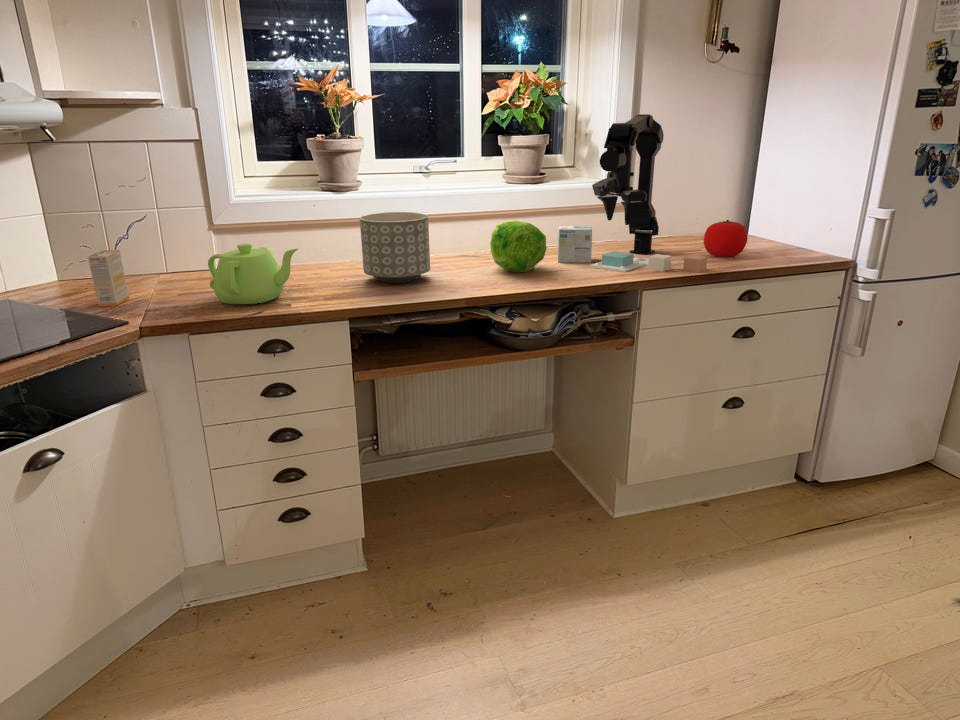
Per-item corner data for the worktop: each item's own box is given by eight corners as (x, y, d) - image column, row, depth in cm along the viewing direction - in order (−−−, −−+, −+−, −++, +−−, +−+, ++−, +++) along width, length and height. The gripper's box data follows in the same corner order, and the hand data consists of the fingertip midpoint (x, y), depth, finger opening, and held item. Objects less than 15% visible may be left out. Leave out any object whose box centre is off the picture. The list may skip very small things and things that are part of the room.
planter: (403, 269, 208) (399, 209, 202) (444, 279, 195) (442, 215, 189) (351, 280, 196) (346, 217, 190) (391, 291, 183) (387, 224, 177)
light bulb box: (590, 258, 220) (592, 225, 217) (591, 263, 214) (593, 228, 210) (557, 258, 221) (558, 225, 218) (557, 262, 215) (558, 228, 211)
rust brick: (690, 268, 206) (691, 254, 205) (706, 270, 203) (707, 256, 202) (683, 270, 203) (684, 257, 201) (699, 273, 200) (700, 259, 198)
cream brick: (655, 267, 208) (656, 254, 207) (670, 269, 205) (671, 256, 204) (647, 269, 205) (648, 256, 203) (663, 272, 202) (664, 258, 200)
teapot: (204, 298, 180) (196, 243, 175) (277, 286, 191) (271, 234, 186) (227, 313, 166) (219, 254, 161) (305, 299, 177) (299, 244, 172)
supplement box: (111, 298, 180) (101, 249, 175) (129, 298, 180) (120, 249, 176) (97, 307, 172) (86, 256, 168) (117, 306, 172) (106, 255, 168)
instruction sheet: (630, 257, 221) (630, 256, 221) (658, 261, 215) (659, 260, 215) (619, 261, 216) (619, 260, 216) (648, 265, 210) (648, 264, 210)
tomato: (717, 261, 214) (721, 224, 210) (694, 253, 226) (698, 218, 222) (753, 259, 217) (758, 222, 213) (729, 251, 229) (733, 216, 225)
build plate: (610, 260, 217) (610, 249, 216) (644, 265, 210) (645, 253, 209) (590, 266, 209) (590, 255, 207) (625, 272, 201) (625, 260, 200)
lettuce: (526, 269, 217) (530, 221, 214) (552, 276, 199) (556, 223, 195) (477, 267, 212) (480, 217, 209) (498, 274, 193) (502, 220, 190)
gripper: (580, 167, 203) (578, 220, 208) (615, 172, 187) (612, 229, 192) (612, 165, 207) (609, 217, 212) (649, 170, 191) (645, 226, 196)
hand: (618, 222), depth 203 cm, fingers open, 9 cm apart
